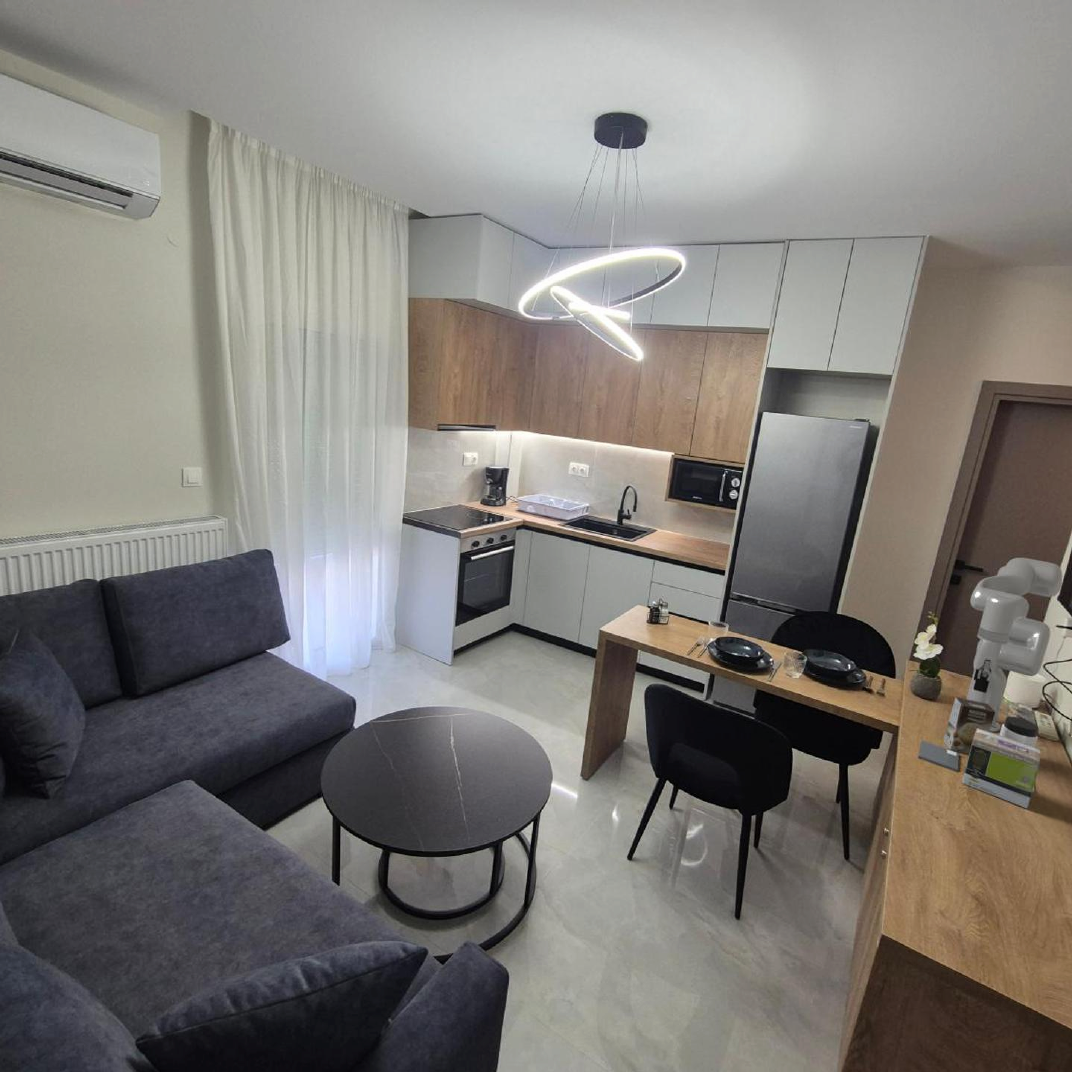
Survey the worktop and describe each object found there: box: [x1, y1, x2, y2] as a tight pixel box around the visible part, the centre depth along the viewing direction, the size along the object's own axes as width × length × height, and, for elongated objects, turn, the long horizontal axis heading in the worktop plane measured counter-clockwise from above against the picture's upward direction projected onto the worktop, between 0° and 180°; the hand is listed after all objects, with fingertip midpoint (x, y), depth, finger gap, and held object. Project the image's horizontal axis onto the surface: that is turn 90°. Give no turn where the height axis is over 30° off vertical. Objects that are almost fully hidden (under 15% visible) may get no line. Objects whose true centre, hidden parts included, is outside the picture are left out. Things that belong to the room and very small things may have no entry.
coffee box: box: [943, 696, 995, 755], centre depth 184 cm, size 9×6×16 cm
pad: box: [917, 740, 960, 772], centre depth 180 cm, size 12×10×1 cm
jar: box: [999, 716, 1040, 747], centre depth 182 cm, size 9×8×12 cm
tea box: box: [962, 728, 1042, 809], centre depth 164 cm, size 15×10×15 cm
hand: (979, 686), depth 181 cm, fingers open, 9 cm apart
